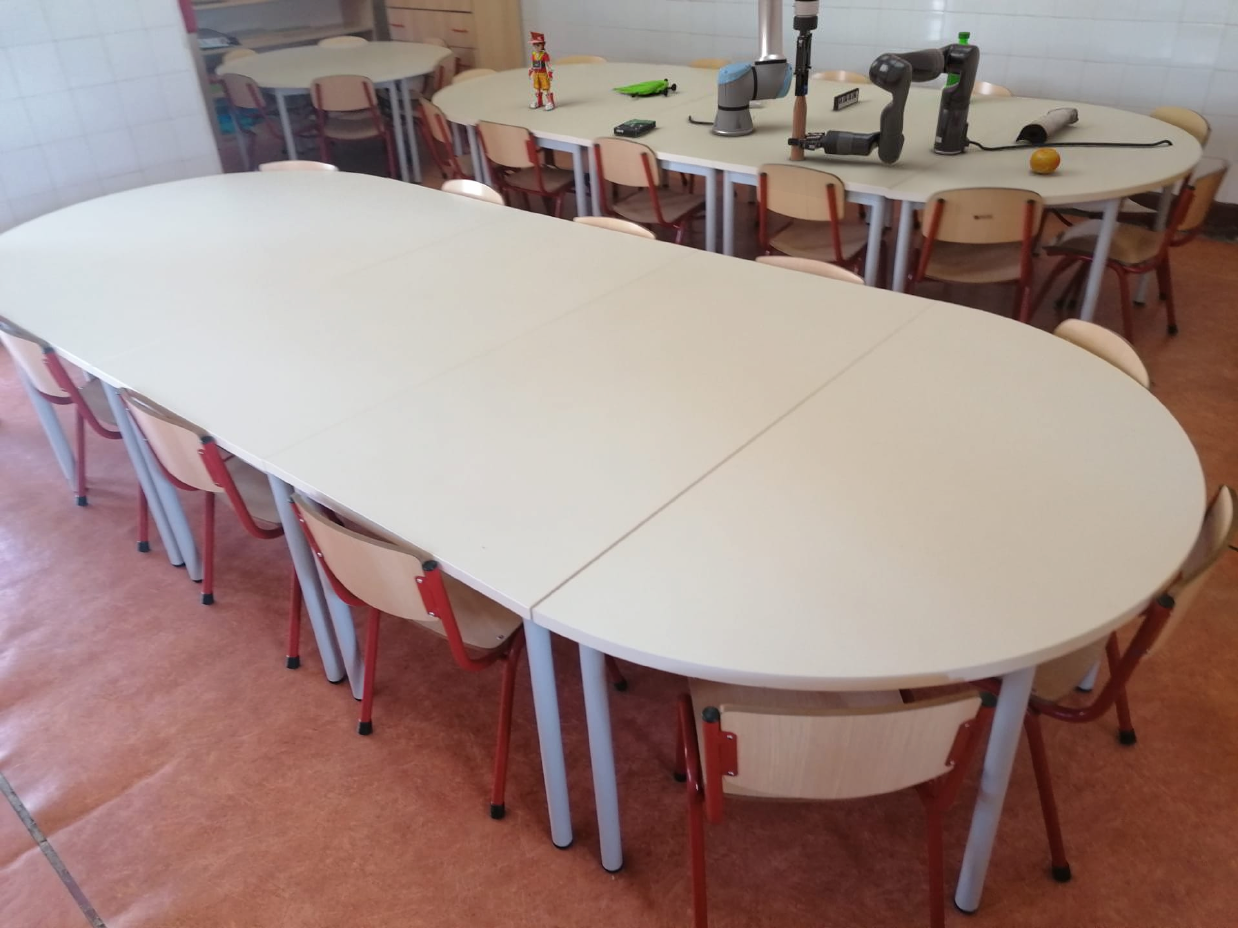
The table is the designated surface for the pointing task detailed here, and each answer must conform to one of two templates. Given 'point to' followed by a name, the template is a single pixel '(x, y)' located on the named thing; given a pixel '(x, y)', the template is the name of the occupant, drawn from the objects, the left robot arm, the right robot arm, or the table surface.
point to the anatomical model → (754, 103)
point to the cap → (805, 90)
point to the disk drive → (634, 127)
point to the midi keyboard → (846, 98)
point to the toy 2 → (648, 88)
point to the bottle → (799, 126)
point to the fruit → (1045, 160)
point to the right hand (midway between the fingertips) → (790, 139)
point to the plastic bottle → (962, 40)
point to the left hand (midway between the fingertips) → (801, 93)
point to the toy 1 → (541, 71)
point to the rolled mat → (1048, 125)
